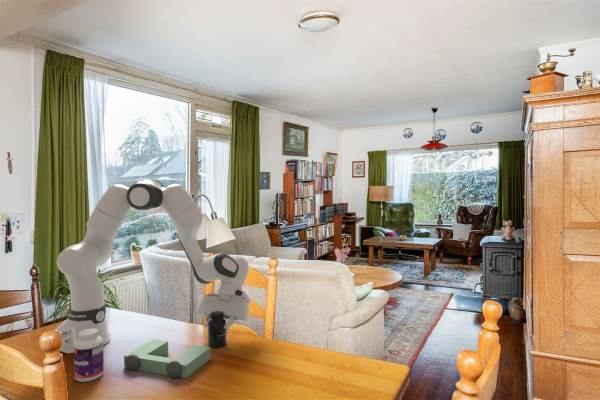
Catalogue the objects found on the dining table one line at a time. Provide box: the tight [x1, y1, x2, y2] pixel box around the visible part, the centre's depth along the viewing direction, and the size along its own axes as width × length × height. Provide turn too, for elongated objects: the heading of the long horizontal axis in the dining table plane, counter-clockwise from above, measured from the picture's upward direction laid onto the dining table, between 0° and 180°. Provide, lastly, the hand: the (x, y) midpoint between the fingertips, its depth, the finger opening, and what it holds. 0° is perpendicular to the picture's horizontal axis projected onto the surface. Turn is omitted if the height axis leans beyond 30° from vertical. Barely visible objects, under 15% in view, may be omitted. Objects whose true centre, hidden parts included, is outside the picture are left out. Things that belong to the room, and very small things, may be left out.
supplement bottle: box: [207, 311, 227, 349], centre depth 142 cm, size 7×7×12 cm
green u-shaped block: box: [123, 338, 212, 379], centre depth 127 cm, size 24×15×5 cm, turn 71°
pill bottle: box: [73, 329, 105, 383], centre depth 119 cm, size 8×8×14 cm
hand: (216, 328), depth 142 cm, fingers closed on supplement bottle, 7 cm apart
